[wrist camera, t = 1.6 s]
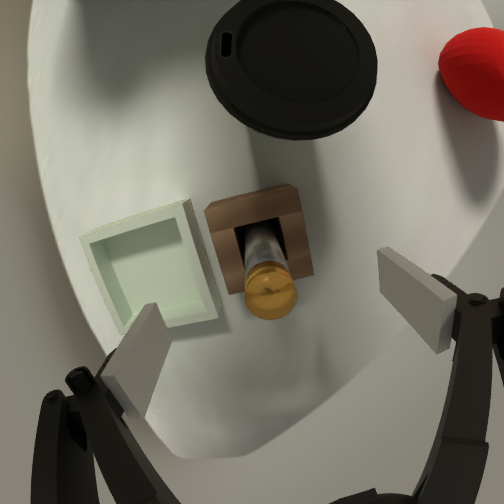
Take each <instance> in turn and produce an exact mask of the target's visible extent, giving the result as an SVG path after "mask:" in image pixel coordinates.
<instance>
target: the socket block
mask: <svg viewBox="0 0 504 504" xmlns="http://www.w3.org/2000/svg"><path fill="white" fill-rule="evenodd" d="M204 213H205V216H206V220H207V223H208V227H209V230H210V234H211V237H212V240H213V244H214V247H215V251H216V254H217V257H218V261H219V264H220V267H221V271H222V274H223V277H224V280H225V284H226V287H227V290H228V293H229V295H231V294H235V293H240V292H244V291H245V252H244V248H243V244H242V240H241V237H240V233H239V229H238V226H242V225H246V224H250V223H255V222H259V221H263V220H267V219H271V218H275V217H276V220H277V224H278V229H279V233H280V238H281V242H282V244H279V246H280V248H281V251H282V253H283V256H284V259H285V261H286V264H287V267H288V269H289V272H290V274H291V277H292V280H295V279H299V278H303V277H307V276H311V275H314V272H313V266H312V261H311V255H310V250H309V245H308V239H307V234H306V229H305V224H304V219H303V214H302V209H301V204H300V200H299V195H298V190H297V188H295V187H294V186H292V185H290V184H285V185H280V186H276V187H272V188H267V189H263V190H259V191H255V192H251V193H247V194H243V195H239V196H235V197H231V198H227V199H223V200H219V201H215V202H211V203H210V205H209V206H208V207H207V208H206V209H205V211H204Z"/></svg>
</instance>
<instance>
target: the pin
mask: <svg viewBox="0 0 504 504" xmlns="http://www.w3.org/2000/svg"><path fill="white" fill-rule="evenodd" d="M296 300H297V291H296V288H295V285H294V282H293V280H292V277H291V274H290V272H289V269H288V267H287V264H286V261H285V259H284V256H283V253H282V251H281V248H280V246H279V243H278V240H277V238H276V235H275V233H274V230H273V228H272V225H271V223H270V222H269V221H268V220H263V221H259V222H255V223H250V224H247V225H246V228H245V302H246V305H247V307H248V309H249V311H250V312H251V313H252V314H254V315H255V316H257V317H259V318H261V319H266V320H274V319H278V318H281V317H283V316H285V315H287V314H288V313H289V312H290V311H291V310H292V309H293V307H294V306H295V304H296Z"/></svg>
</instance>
